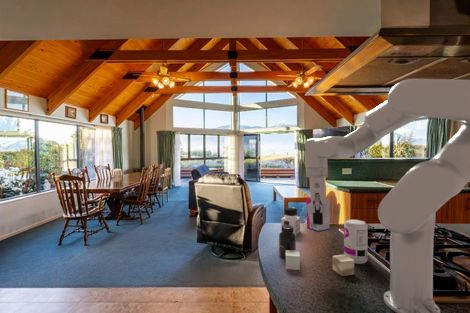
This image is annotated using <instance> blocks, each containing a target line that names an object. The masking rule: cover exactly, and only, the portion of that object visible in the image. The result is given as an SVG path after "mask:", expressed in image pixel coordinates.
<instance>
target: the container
mask: <svg viewBox="0 0 470 313" xmlns="http://www.w3.org/2000/svg"><path fill="white" fill-rule="evenodd" d="M283 210H284V212H283V214H284V216H283V217H281V219H280V222H281V223H280V224H281V226H280V228H281V229H282V226H283V225H291V226H293V230H294V232H293V233H294V234H295V235H296V236H297V234H299V233H300V232H301V217H300V216H298V208H296V207H293V206H287V207H285V208H284V209H283ZM281 232H282V231H281ZM281 232H280V233H281Z"/></svg>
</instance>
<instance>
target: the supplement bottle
mask: <svg viewBox="0 0 470 313" xmlns="http://www.w3.org/2000/svg"><path fill="white" fill-rule="evenodd" d="M281 231H282V232H280V233H279V234H278V254H279V256H280V257H282V258H284V259H286V250H292V251H297V234H296V235H295V234H294V233H293V232H294V230H293V226H291V225H283V226H282V229H281Z"/></svg>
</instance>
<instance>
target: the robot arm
mask: <svg viewBox="0 0 470 313" xmlns="http://www.w3.org/2000/svg"><path fill="white" fill-rule="evenodd" d="M421 117H424V118H425V117H426V118H433V119H441V120H442V119H443V120H450V121H456V122H460V123H461V125H460V128H459V129H458V131H457V132H456V133H455V134H454V135H453V136H452V137H450V139H449V140H447V142H446V143H445V144H444V145H443V147H442V148H441V149H440V150H439V151H438V152H437V153H436V154H435V155H434V156H433V157H432V158H431V159H430V160H425V161H422V162H419V163H417V164H415V165H414V166H412V167H410V168H409V170H408V171H407V172H406V173H405V174H404V175H403V176H402V177H401V178H400V179H399V180H398V182H396V184H395V185H394V186H393V187H392V188H391V190H390V191H389V192H387V194H386V195H385V196H384V197H383V199H382V200H381V201H380V203H379V205H378V207H377V217H378V220H379V222H380V223H381V225H382V226H383V227H384V228H385V229H386V230H388V231H389V232H390V238H389V239H390V240H389V290H388V291H387V290H386V292H384V293H383V302H384V303H385V305H386V306H387V307H388V308H389V309H390V310H392V311H393V312H395V313H441V309H440V307H439V306H438V304H436V303H435V300H434V298H433V296H434V295H433V292H434V279H433V278H434V238H435V237H434V236H435V227H436V226H435V225H436V216H437V215H436V213H437V211H438V210H439V209H441V208H442V206H444V205H445V204H446V203H447V202H448V201H449V200H451V198H453V197H455V196H456V195H458V194H459V193H460V192H462V190H463V189H464V187H465V186H466V185H467V184H468V183H469V182H470V79H457V78H455V79H453V78H452V79H450V78H449V79H448V78H447V79H446V78H408V79H407V78H406V79H403V80H401V81H399V82H397V83H395V84H394V85H393V86H392V87H391V89H390V90H389V92H388V93H387V97H386V100H385V101H383V102H382V103H380V104H379V105H377V106H376V107H374V108H372V109H370V110H369V111H367V112H366V113H365V114H364V121H363V123H362V124H361V126H359V127H358V128H357V129H355V130H353V131H352V132H350V133H348V134H347V135H345V136H340V135H339V136H337V135H336V136H334V135H332V136H331V135H330V136H326V137H319V138H308V139H306V140H305V143H304V149H305V150H304V152H305V154H304V155H305V177H306V178H309V196H310V197H311V204H312V205H313V224H319V225H322V224H323V213H322V204H324V206H325V205H326V198H327V197H326V196H327V195H326V192H327V190H326V180H325V178H327V177H328V176H329V175H328V173H329V170H328V159H331V160H332V159H335V160H337V159H346V158H351V157H353V156H356V155H357V154H359V153H361V152H363V151H365V150H367V149H368V148H371V147H372V146H374V145H375V144H376V143H378V142H379V141H381V139H383V138H384V137H385V136H387V135H389V134H391V133H393V132H395V131H397V130H398V129H401V128H402V127H404V126H406V125H408V124H409V123H412V122H414V121H415V120H417V119H419V118H421ZM314 201H315V202H316V204H314ZM319 201H320V204H319Z"/></svg>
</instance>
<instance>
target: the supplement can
mask: <svg viewBox="0 0 470 313" xmlns="http://www.w3.org/2000/svg"><path fill="white" fill-rule="evenodd" d="M344 254H345V255H347V256H348V257H350V258H351V259H353V260H354V265H355V264H356V265H362V264H363V265H364V264H365V263H366V262H367V261H368V225H367V224H366V221H364V220H360V219H351V218H350V219H346V220H345V222H344V224H343V255H344Z"/></svg>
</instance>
